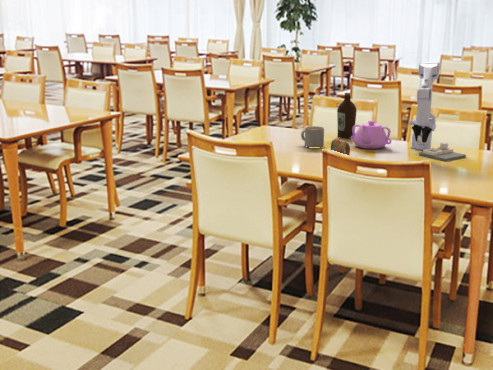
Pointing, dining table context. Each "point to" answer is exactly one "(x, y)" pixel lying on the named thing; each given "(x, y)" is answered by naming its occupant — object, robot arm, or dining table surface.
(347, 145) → the mottled brown rounded slab
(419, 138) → the pin
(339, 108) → the olive oil
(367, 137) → the teapot
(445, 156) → the board
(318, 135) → the coffee mug
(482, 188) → the dining table surface
